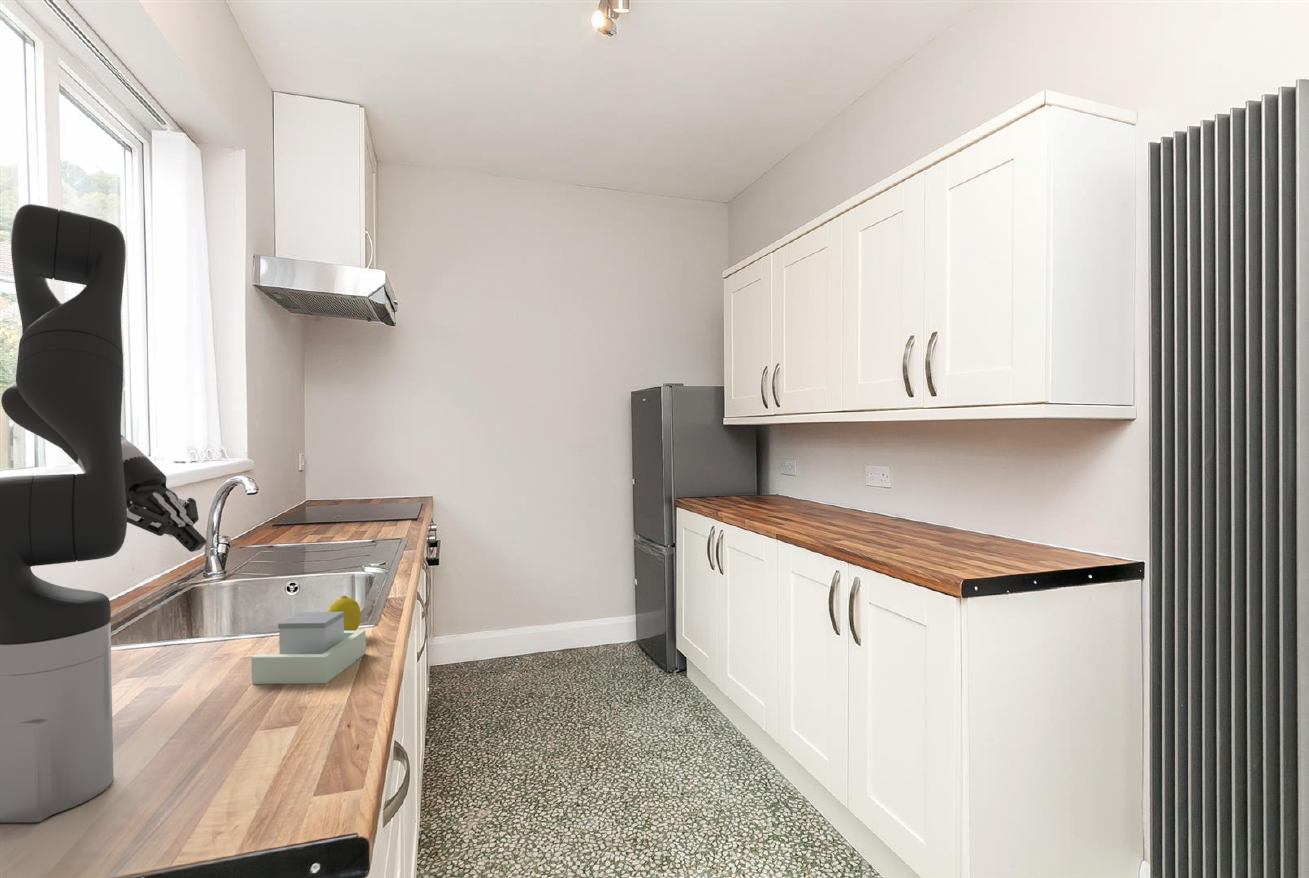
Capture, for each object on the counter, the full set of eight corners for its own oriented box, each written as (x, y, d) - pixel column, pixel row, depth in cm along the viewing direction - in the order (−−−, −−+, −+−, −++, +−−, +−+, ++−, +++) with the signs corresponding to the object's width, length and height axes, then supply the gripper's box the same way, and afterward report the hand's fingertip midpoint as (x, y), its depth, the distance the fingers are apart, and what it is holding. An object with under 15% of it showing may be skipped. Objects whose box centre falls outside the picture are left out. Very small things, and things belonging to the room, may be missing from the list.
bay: (326, 683, 93) (325, 656, 93) (251, 683, 93) (251, 657, 93) (365, 654, 105) (365, 630, 105) (300, 654, 105) (299, 631, 105)
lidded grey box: (325, 675, 96) (324, 623, 96) (278, 675, 96) (278, 623, 96) (344, 660, 102) (344, 611, 102) (301, 660, 102) (300, 612, 102)
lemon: (351, 644, 110) (351, 599, 110) (321, 644, 110) (320, 599, 110) (366, 634, 116) (366, 591, 116) (337, 634, 116) (337, 591, 116)
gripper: (101, 456, 92) (184, 537, 92) (171, 453, 106) (243, 524, 105) (66, 492, 92) (149, 573, 92) (141, 485, 106) (213, 556, 105)
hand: (199, 547), depth 99 cm, fingers closed
